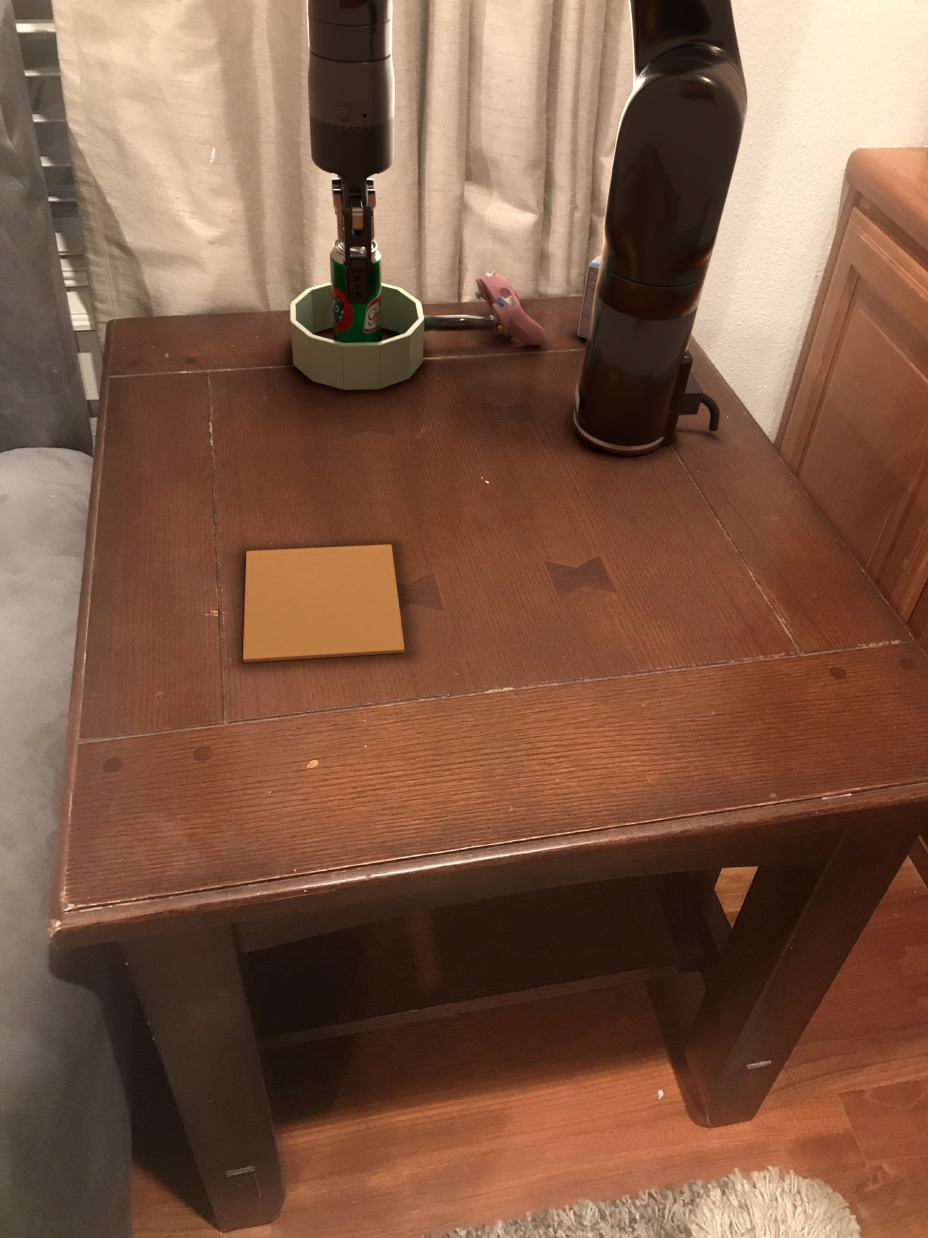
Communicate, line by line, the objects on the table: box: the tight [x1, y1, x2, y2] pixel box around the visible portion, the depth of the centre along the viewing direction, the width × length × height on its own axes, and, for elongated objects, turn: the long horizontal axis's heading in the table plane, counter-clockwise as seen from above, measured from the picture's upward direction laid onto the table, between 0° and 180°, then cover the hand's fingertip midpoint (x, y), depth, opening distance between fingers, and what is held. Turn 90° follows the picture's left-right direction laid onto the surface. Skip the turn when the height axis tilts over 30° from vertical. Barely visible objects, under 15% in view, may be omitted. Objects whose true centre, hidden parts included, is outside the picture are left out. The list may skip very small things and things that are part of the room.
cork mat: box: [242, 543, 405, 664], centre depth 75 cm, size 12×12×1 cm
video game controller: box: [474, 269, 546, 347], centre depth 105 cm, size 10×5×7 cm, turn 17°
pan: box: [289, 281, 498, 391], centre depth 100 cm, size 22×14×5 cm, turn 98°
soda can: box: [329, 238, 383, 343], centre depth 97 cm, size 5×5×12 cm
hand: (355, 283), depth 96 cm, fingers open, 7 cm apart
